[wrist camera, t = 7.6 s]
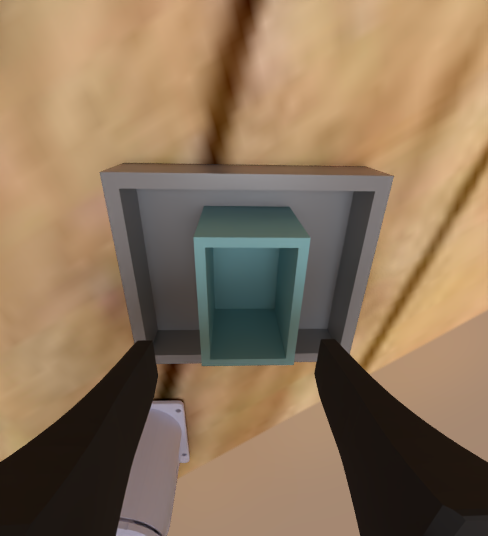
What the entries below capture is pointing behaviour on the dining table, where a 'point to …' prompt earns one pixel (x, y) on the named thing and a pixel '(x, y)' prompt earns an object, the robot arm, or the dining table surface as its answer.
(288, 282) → the teal crate
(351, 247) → the gray tray
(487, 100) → the dining table surface
